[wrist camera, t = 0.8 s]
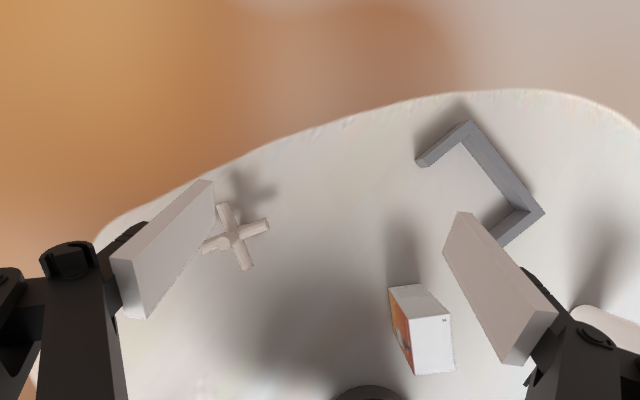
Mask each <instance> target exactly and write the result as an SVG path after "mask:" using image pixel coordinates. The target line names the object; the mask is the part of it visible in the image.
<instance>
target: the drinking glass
mask: <svg viewBox="0 0 640 400" xmlns="http://www.w3.org/2000/svg"><path fill="white" fill-rule="evenodd" d="M570 315H571V316H572V317H573V318H574V320H576V321H581V322H584V323H587V324H589V325H592V326H593V327H595V328H597V329H599V330H600V331H602V332H603V333H604V334H606V335H607V336H608V337H609V338H610V339H611V340H612V341H613V342H614V343H615V344H616V346H617V347H619V348H622V349H625V350H628V351H631V352H633V353H636V354H640V324H638V323H635V322H632V321H630V320H627V319H624V318H622V317H619V316H616V315H614V314H611V313H608V312H606V311H603V310H601V309H599V308H597V307H594V306H591V305H580V306H577V307H576V308H574V309H573V310H572V311H571V313H570Z"/></svg>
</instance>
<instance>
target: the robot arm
mask: <svg viewBox="0 0 640 400" xmlns="http://www.w3.org/2000/svg"><path fill="white" fill-rule="evenodd" d="M215 226H216V216H215V201H214V186H213V181H208V180H200V179H199V180H198V181H197V182H195V183H194V184H193V185H192V186H191V187H190V188H188V189H187V190H186V191H185V192H184V193H183V194H181V195H180V196H179V197H178V198H177V199H176V200H174V201H173V202H172V203H171V204H170V205H169V206H168V207H166V208H165V209H164V210H163V211H162V212H161V213H159V214H158V215H157V216H156V217H155V218H154V219H152V220H151V221H150V222H146V221H142V222H140V223H138V224H136V225H134V226H131V227H130V228H129V229H127V230H126V231H125V232H124V233H122V235H120V236H119V237H117V238H116V239H115V241H113V242H111V243H110V244H109V245H108V246H106V247H105V248H104V249H103V250H101V251H100V252H99V253H98V254H96V252H95V249H94V246H93V245H92V243H89V242H86V241H72V242H67V243H63V244H60V245H57V246H55V247H52V248H50V249H48V250H47V251H46V252H44V253H43V254H42V255H41V256H40V258H39V262H40V264H41V266H42V269H43V271H44V273H45V276H46V277H41V278H31V279H24V276H23V274H22V273H21V271H20V270H19V269H17V268H13V267H8V268H0V400H18V397H19V395H20V393H21V391H22V388H23V386H24V384H25V382H26V380H27V377H28V375H29V373H30V371H31V369H32V367H33V364H34V362H35V360H36V358H37V356H38V354H39V351H40V349H41V351H40V361H39V371H38V381H37V392H36V400H128V395H127V388H126V381H125V374H124V368H123V361H122V354H121V348H120V341H119V334H118V328H117V321H116V318H115V314H116V312H117V311H118V310H119V309H120V308H121V307H122V306H123V310H124V313H125V317H128V318H136V319H144V320H147V318H148V317H149V315H150V314H151V313H152V311H153V310H154V309H155V307H156V306H157V305H158V303H159V302H160V301H161V299H162V298H163V296H164V295H165V294H166V292H167V291H168V290H169V288H170V287H171V286H172V284H173V283H174V281H175V280H176V279H177V277H178V276H179V275H180V273H181V272H182V271H183V269H184V268H185V267H186V265H187V264H188V262H189V261H190V260H191V258H192V257H193V256H194V254H195V253H196V252H197V250H198V249H199V247H200V246H201V245H202V243H203V242H204V241H205V239H206V238H207V237H208V235H209V234H210V233H211V231H212V230H213V228H214V227H215ZM442 254H443V256H444V258H445V260H446V262H447V263H448V265H449V267H450V269H451V271H452V273H453V275H454V276H455V278H456V280H457V282H458V284H459V286H460V287H461V289H462V291H463V293H464V295H465V297H466V299H467V300H468V302H469V304H470V306H471V308H472V310H473V312H474V313H475V315H476V317H477V319H478V321H479V323H480V324H481V326H482V328H483V330H484V332H485V334H486V336H487V337H488V339H489V341H490V343H491V345H492V347H493V349H494V350H495V352H496V354H497V356H498V358H499V360H500V361H501V363H502V364H508V365H516V366H523V365H524V363H525V362H526V361H527V359H528V358H529V356H531V357H532V359H533V360H534V362H535V363H536V365H537V366H536V367H535V369H534V370H533V371H532V373H531V374H530V375H529V377H528V378H527V380H526V381H525V382H524V384H523V385H524V386H525V387H527V386H528V385H529V386H528V390H527V394H526V398H525V400H640V354H636V353H633V352H631V351H628V350H625V349H622V348H619V347H617V346H616V344H615V343H614V342H613V341H612V340H611V339H610V338H609V337H608V336H607V335H606V334H604V333H603V332H602V331H600V330H599V329H597V328H595V327H593V326H592V325H589V324H587V323H584V322H581V321H576V320H574V318H573V317H572V316H571V315H570V314H569V313H568V312H567V311H566V310H565V309H564V307H563V306H562V305H561V304H560V303H559V302H558V301H557V300H556V299H555V298H554V297H553V295H550V292H549V291H548V290H547V289H546V288H545V287H543V284H542V283H541V282H540V281H539V280H538V279H537V278H536V277H535V276H534V275H533V274H531V273H530V272H529V271H527V270H526V269H524V268H523V267H519V266H518V265H517V264H516V263H515V262H514V261H513V260H512V259H511V257H510V256H509V255H508V254H507V253H506V252H505V251H504V249H503V248H502V247H501V246H500V245H499V244H498V243H497V241H496V240H495V239H494V238H493V237H492V236H491V235H490V233H489V232H488V231H487V230H486V229H485V228H484V227H483V225H482V224H481V223H480V222H479V221H478V220H477V219H476V217H475V216H474V215H473V214H472V213H467V212H459V211H457V214H456V217H455V219H454V222H453V225H452V227H451V230H450V232H449V235H448V238H447V240H446V243H445V246H444V248H443V251H442ZM336 400H402V399H401V398H400V397H399V396H398V395H397V394H395V393H394V392H392V391H390V390H388V389H385V388H382V387H378V386H361V387H357V388H354V389H351V390H349V391H347V392H345V393H344V394H342V395H341V396H340V397H338V398H337V399H336Z"/></svg>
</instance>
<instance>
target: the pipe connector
mask: <svg viewBox="0 0 640 400" xmlns="http://www.w3.org/2000/svg"><path fill="white" fill-rule="evenodd" d="M216 209H217V211H218V214H219V216H220V219H221V221H222V223H223V226H224V228H225V231H226V233H223V234H220V235H218V236H215V237H213V238H210V239H207V240H205V241H204V242H203V243H202V245H201V246H200V247H199V249H200V251H201V253H202V254H206V253H209V252H211V251H214V250H217V249H219V250H220V251H226V250H227V249H229V248H230V247H232V248H233V250H234V253H235V255H236V258H237V260H238V262H239V265H240V267H241V270H242V271H245V270H247V269H250V268H251V267H253V266H254V265H253V262H252V260H251V257H250V255H249V252H248V250H247V248H246V245H245V243H244V240H243V239H246V238H248V237H251V236H253V235H256V234H259V233H261V232H264V231H266V230H269V224H268V222H267V220H266V218H262V219H260V220H257V221H254V222H252V223H249V224H247V225H241V226H239V227H238V225H237V223H236V220H235V218H234V216H233V213H232V211H231V208H230V206H229V203H228V201H227V202H224V203H221V204H219V205H216Z"/></svg>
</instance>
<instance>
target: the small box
mask: <svg viewBox="0 0 640 400" xmlns="http://www.w3.org/2000/svg"><path fill="white" fill-rule="evenodd" d="M388 292H389V298H390V306H391V315H392V323H393V332H394V334H395V336H396V338H397V340H398V342H399V344H400V347H401V349H402V351H403V353H404V355H405V357H406V359H407V361H408V363H409V365H410V367H411V369H412V371H413V373H414V375H415V376H417V375H426V374H434V373H442V372H450V371H456V365H455V358H454V350H453V340H452V331H451V315H450V312H449V311H448V310H447V309H446V308H445V307H444V306H443V305H442V304H441V303H440V302H439V301H438V300H437V299H436V298H435V297H434V296H433V295H432V294H431V293H430V292H429V291H428V290H427V289H426V288H425V287H424V286H423V285H422V284H421V283H420V284H412V285H405V286H397V287H390V288H388Z"/></svg>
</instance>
